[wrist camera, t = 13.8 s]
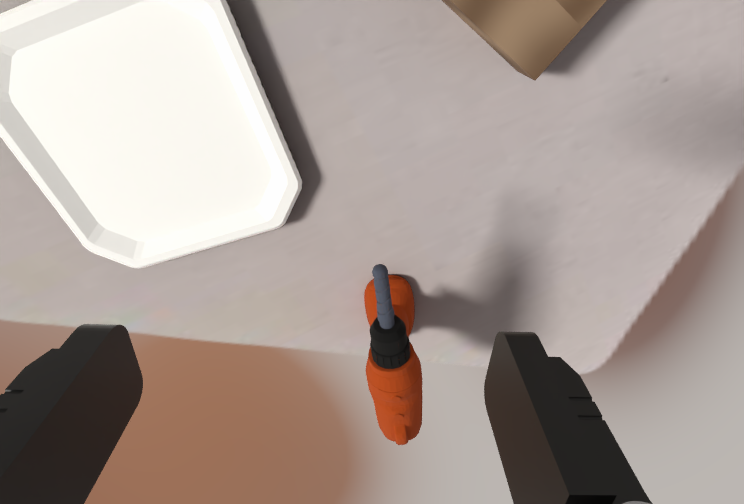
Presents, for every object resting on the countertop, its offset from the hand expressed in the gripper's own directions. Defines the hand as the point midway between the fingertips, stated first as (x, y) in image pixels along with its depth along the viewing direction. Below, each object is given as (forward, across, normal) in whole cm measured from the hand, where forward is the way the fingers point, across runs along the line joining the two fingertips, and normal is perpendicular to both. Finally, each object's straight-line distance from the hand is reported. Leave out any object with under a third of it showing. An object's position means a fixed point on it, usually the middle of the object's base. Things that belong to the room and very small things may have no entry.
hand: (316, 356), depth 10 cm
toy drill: (+28, +4, -16) cm, 33 cm away
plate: (+29, -16, -4) cm, 33 cm away
